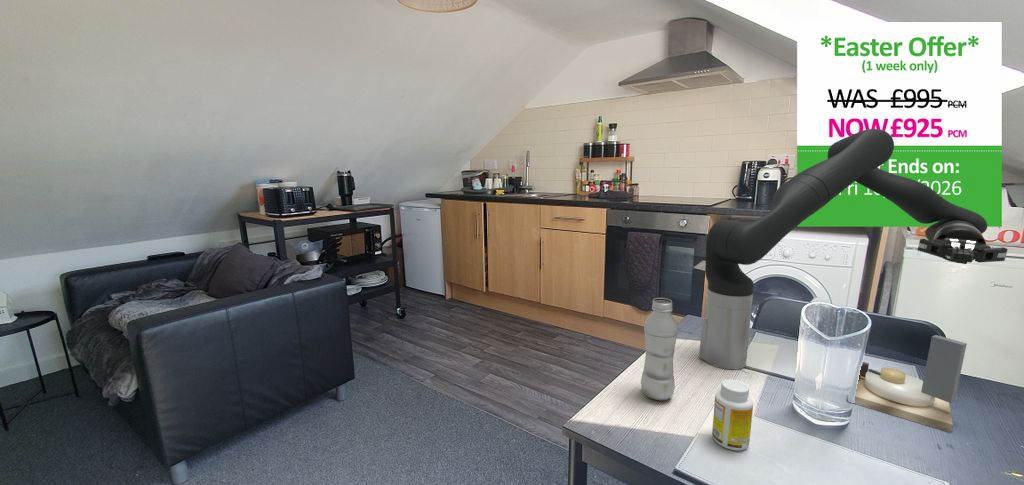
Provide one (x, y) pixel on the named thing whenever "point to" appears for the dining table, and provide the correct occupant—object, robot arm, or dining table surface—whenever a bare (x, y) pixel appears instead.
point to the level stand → (904, 406)
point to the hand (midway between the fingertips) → (962, 258)
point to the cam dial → (937, 377)
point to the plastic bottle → (659, 351)
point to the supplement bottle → (732, 415)
